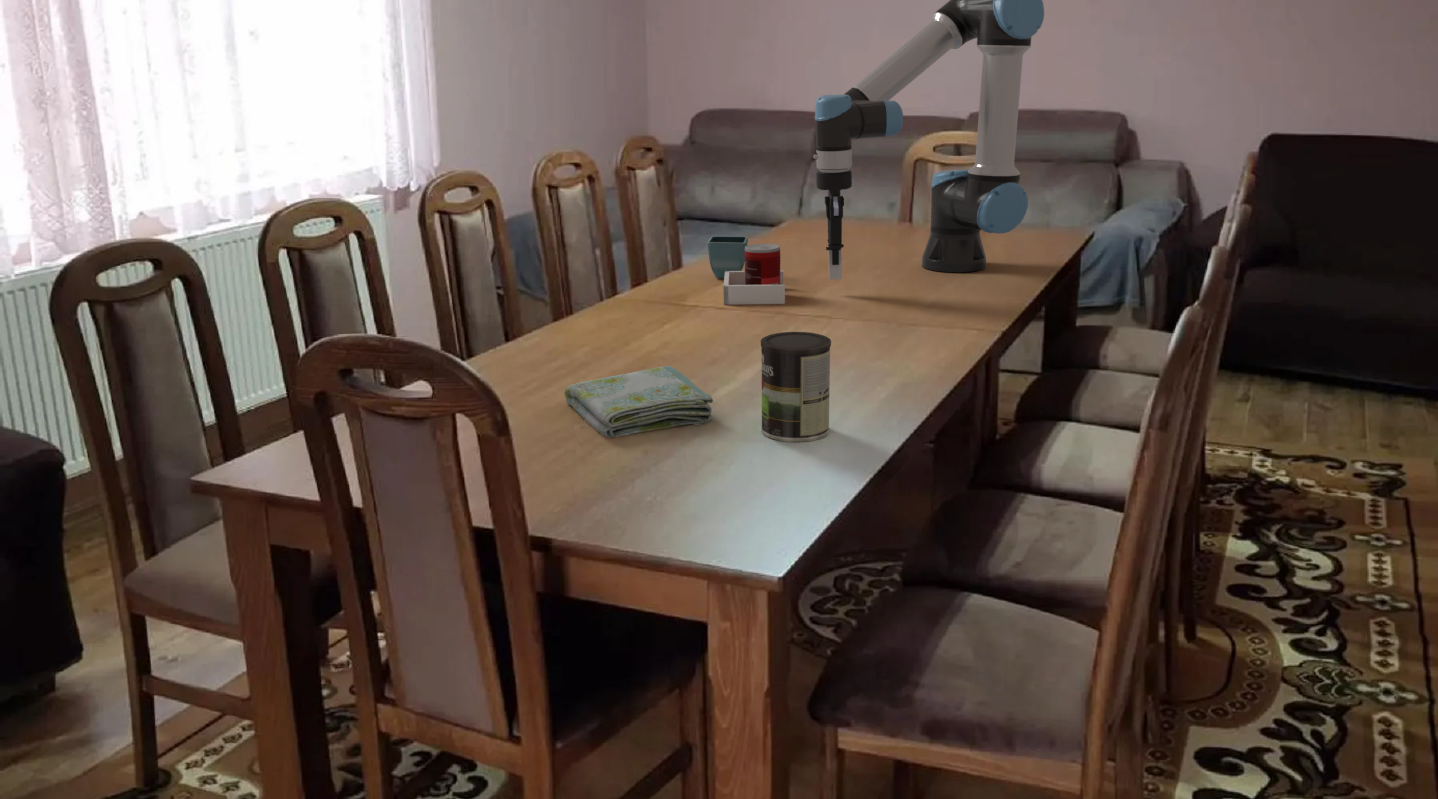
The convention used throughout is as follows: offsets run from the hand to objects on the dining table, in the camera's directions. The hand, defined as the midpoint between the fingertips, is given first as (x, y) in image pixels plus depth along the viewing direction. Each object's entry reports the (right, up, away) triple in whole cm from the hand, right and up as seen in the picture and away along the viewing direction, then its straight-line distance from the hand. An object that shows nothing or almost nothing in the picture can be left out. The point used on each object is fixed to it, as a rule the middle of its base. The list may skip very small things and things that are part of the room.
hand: (835, 278), depth 278 cm
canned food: (-16, -4, +1) cm, 16 cm away
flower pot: (-23, +2, +21) cm, 32 cm away
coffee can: (-14, -31, -88) cm, 94 cm away
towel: (-38, -29, -78) cm, 91 cm away
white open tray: (-18, -4, +1) cm, 18 cm away
